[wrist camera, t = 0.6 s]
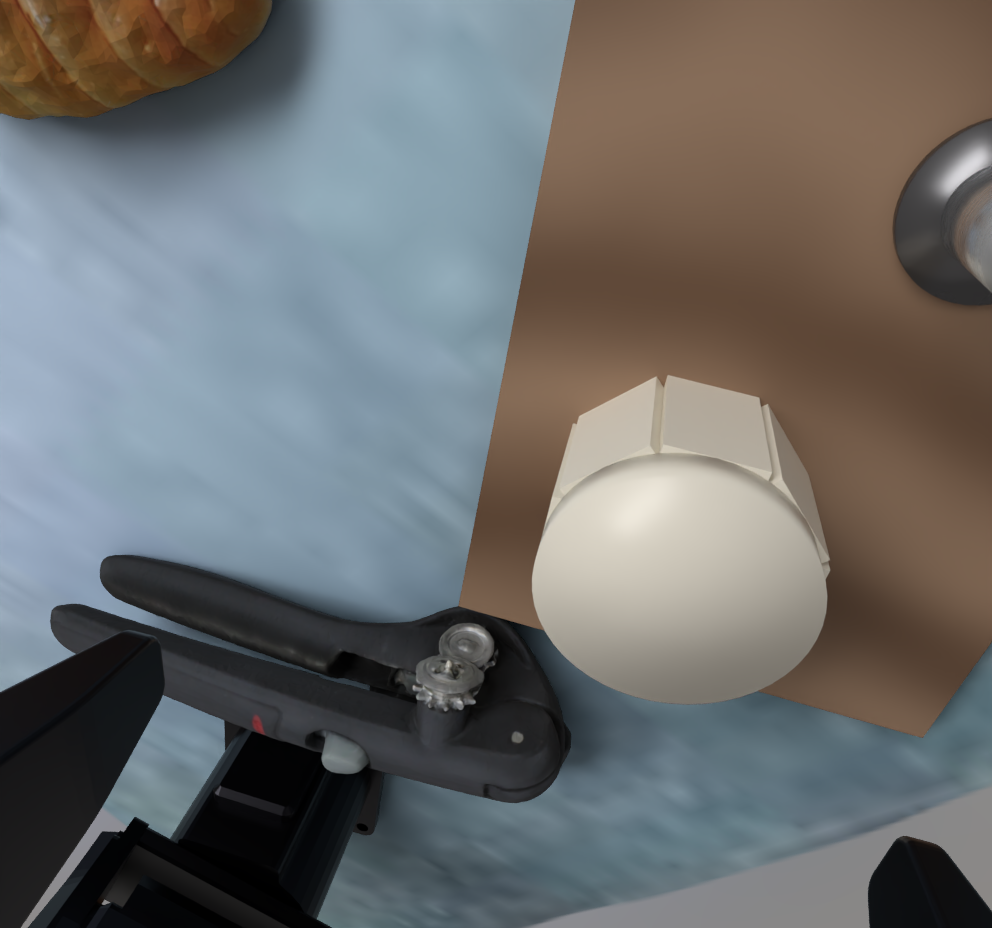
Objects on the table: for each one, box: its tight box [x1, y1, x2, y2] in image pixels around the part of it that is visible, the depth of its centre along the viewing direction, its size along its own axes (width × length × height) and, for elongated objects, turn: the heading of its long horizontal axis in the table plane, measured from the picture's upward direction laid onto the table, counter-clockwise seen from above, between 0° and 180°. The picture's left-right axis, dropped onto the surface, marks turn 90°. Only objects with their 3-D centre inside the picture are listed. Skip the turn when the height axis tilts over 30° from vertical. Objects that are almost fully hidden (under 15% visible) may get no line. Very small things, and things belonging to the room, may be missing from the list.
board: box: [459, 0, 992, 738], centre depth 18 cm, size 20×14×1 cm
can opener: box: [50, 555, 571, 803], centre depth 25 cm, size 18×7×6 cm, turn 81°
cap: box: [532, 375, 830, 705], centre depth 18 cm, size 6×6×4 cm
